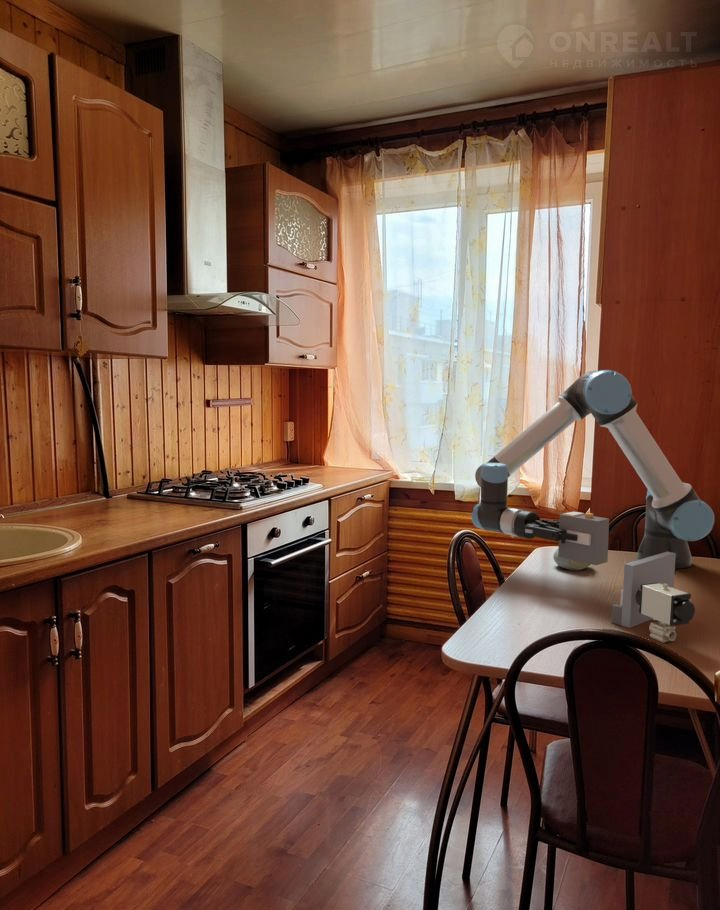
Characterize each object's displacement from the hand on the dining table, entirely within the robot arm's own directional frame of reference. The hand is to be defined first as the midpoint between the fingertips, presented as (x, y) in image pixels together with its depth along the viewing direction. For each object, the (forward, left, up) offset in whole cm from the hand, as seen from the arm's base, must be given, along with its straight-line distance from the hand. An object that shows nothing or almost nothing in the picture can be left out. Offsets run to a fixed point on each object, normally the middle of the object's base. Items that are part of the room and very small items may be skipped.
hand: (596, 538), depth 174 cm
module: (0, -4, -6) cm, 7 cm away
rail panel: (+4, +15, -15) cm, 22 cm away
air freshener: (-20, -20, -15) cm, 32 cm away
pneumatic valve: (+14, +25, -15) cm, 33 cm away
